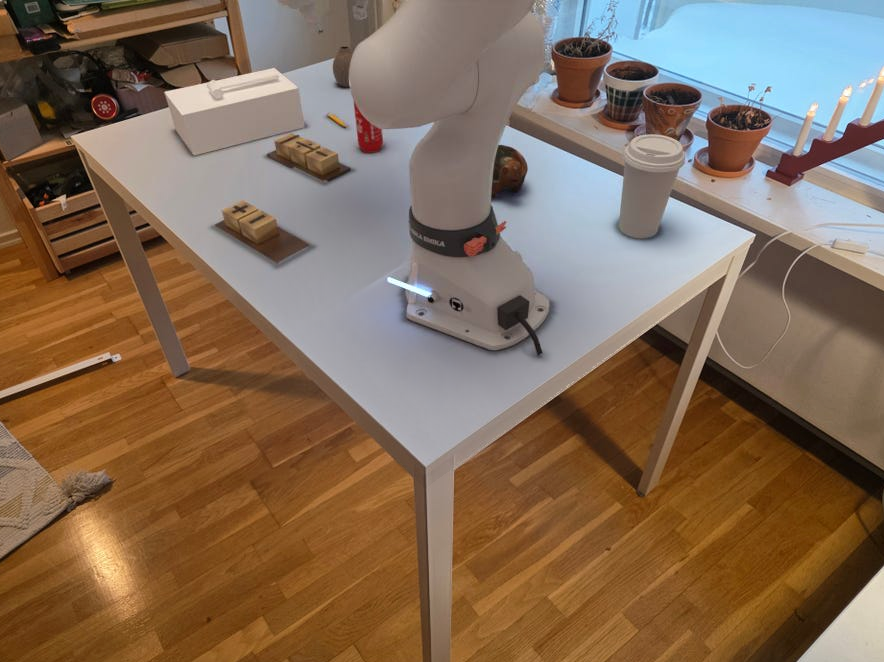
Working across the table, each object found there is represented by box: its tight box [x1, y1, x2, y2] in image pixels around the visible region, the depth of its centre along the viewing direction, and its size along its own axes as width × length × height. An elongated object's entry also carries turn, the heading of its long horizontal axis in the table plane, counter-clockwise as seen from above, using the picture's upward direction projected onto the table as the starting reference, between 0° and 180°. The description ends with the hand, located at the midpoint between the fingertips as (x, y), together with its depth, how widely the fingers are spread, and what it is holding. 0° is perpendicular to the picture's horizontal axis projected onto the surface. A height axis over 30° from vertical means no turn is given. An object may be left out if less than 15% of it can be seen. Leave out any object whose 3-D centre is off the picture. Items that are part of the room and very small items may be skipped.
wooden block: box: [289, 138, 322, 167], centre depth 130 cm, size 5×4×3 cm
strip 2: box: [266, 132, 351, 182], centre depth 131 cm, size 18×7×4 cm, turn 48°
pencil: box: [326, 112, 347, 128], centre depth 145 cm, size 1×9×1 cm, turn 34°
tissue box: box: [163, 67, 306, 157], centre depth 141 cm, size 14×25×11 cm, turn 121°
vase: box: [332, 45, 354, 88], centre depth 159 cm, size 7×7×9 cm
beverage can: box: [352, 99, 384, 154], centre depth 132 cm, size 5×5×12 cm
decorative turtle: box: [491, 144, 529, 199], centre depth 120 cm, size 10×15×8 cm, turn 22°
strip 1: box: [214, 199, 311, 264], centre depth 111 cm, size 18×7×4 cm, turn 48°
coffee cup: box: [618, 133, 686, 239], centre depth 106 cm, size 10×10×15 cm
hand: (339, 25), depth 103 cm, fingers open, 8 cm apart
